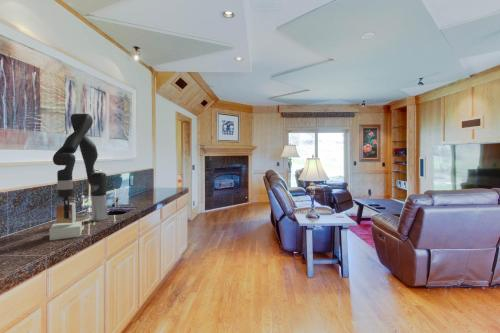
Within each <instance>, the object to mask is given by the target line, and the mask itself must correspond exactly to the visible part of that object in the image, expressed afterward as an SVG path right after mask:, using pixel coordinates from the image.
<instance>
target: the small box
mask: <svg viewBox="0 0 500 333" xmlns="http://www.w3.org/2000/svg"><path fill="white" fill-rule="evenodd" d="M69 206H70V207H69V209H70V210H69V218H67V219H65V218H64V209H63V206H62V203H59V204H56V205H55V210H56V211H55V214H56V219H55V220H56V221H55V222H56V223H55V224H59V223H73V222H77V221H76V219H77V218H76V217H77V216H76V215H77V214H76V212H77V211H76V202H70V204H69ZM65 209H68V208H65Z"/></svg>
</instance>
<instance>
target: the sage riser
mask: <svg viewBox="0 0 500 333" xmlns="http://www.w3.org/2000/svg"><path fill="white" fill-rule="evenodd" d="M82 222H83V221H82V220H81V221H74V222H73V223H53V224H52V226H50V228H49V230H48V231H49V233H48V234H49V241H54V240H55V241H56V240H61V239H71V238H78V237H79V238H80V237H81V235H82V230H83V227H82V224H83V223H82Z"/></svg>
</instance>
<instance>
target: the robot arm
mask: <svg viewBox="0 0 500 333" xmlns="http://www.w3.org/2000/svg"><path fill="white" fill-rule="evenodd" d="M93 122H94V119H93V117H92V115H91V114H89V113H73V114H71V115H70V123H71V126H72V129H73V132H72V133H71V134H70V135H68V136H67V137H66V139H65V141H64V142H63V145H62V146H61V147H60V148H59V149H58V150H56V152H55V153H54V154H53V156H52V161H53V164H54V165H56V166H65V167H64V168H63V169H59V170H57V172H56V176H57V182H56V189H57V190H56V191H57V192H56V193H57V194H56V195H57V196H56V197H58V198H61V200H60V201H61V204H62V206H63V209H64V218H65V219H67V218H69V210H70V209H69V207H70V206H69V204H70V203H71V200H70V198H69V197H73V196H74V182H73V171H74V168H75V163H76V155H75V153H76V152H77V151H78V148H79V150H80V153H81V157H82V159H83V163H84V167H85V172H86V176H87V178H86V179H87V182H88V183H89V186H96V187H98V188H97V189H96V190H92V191H91V193H90V196H91V198H90V200H91V221H94V222H98V221H105V220H108V206H107V191H108V188H107V187H108V176H107V174H106V173H105V172H96V171H95V169H94V166H95V163H96V161H97V159H98V156H99V154H98V150H97V147H96V146H97V145H96V144H95V142H93V141H92V140H91V139H90V138H89V137H88V136H87V133H88V132H89V131H90V129H91V128H92V126H93V125H94V123H93ZM65 208H68V209H65Z"/></svg>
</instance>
